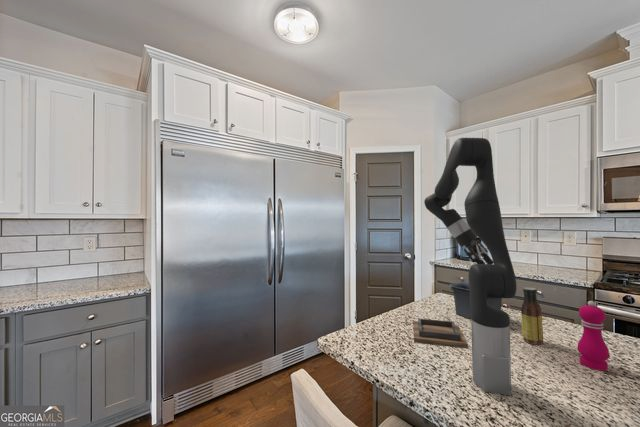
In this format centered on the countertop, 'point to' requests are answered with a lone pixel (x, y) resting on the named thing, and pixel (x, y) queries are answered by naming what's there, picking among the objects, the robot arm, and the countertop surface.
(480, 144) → the robot arm
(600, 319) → the pepper mill
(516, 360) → the countertop surface
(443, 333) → the socket board
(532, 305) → the sauce bottle
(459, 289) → the storage bin
